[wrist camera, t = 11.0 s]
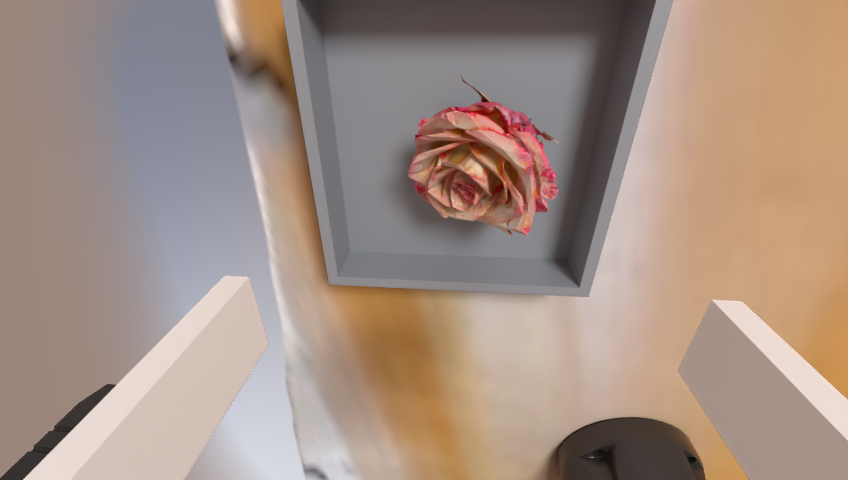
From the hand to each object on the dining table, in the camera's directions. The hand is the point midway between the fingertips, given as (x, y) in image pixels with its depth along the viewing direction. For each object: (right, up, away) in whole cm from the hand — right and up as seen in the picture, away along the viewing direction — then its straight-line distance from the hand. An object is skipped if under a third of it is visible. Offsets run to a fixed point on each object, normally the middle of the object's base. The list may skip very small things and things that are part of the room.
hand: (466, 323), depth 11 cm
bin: (+1, +9, +16) cm, 18 cm away
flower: (+2, +9, +15) cm, 18 cm away
